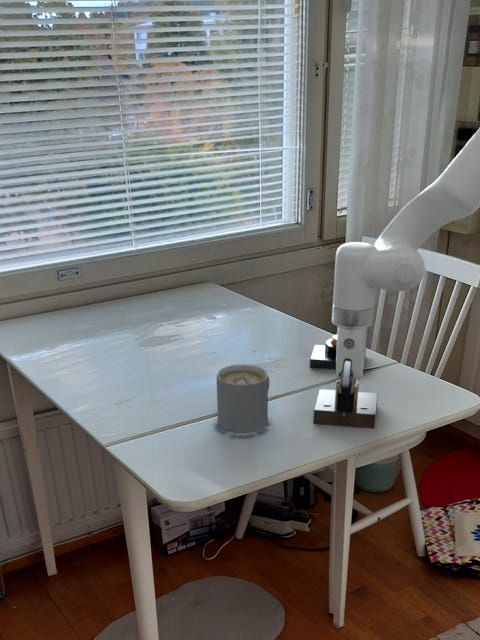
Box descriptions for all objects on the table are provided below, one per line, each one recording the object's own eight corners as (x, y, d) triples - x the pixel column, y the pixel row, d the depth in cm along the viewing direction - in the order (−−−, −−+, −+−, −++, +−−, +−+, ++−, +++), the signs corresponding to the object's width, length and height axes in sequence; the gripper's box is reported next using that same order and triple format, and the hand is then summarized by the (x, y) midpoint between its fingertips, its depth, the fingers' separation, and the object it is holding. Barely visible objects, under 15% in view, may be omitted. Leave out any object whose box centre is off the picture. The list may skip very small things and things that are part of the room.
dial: (357, 402, 156) (359, 377, 153) (356, 412, 152) (358, 387, 149) (335, 401, 157) (337, 376, 154) (333, 410, 153) (335, 385, 150)
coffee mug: (241, 437, 150) (241, 389, 145) (207, 420, 156) (205, 373, 151) (289, 416, 158) (291, 369, 152) (255, 401, 164) (255, 355, 158)
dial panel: (376, 406, 161) (378, 392, 159) (373, 432, 152) (375, 418, 150) (318, 402, 163) (319, 388, 161) (312, 427, 154) (312, 413, 152)
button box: (365, 355, 184) (366, 339, 182) (362, 371, 176) (364, 355, 174) (314, 352, 186) (315, 336, 184) (309, 368, 178) (310, 351, 176)
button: (348, 341, 181) (348, 334, 180) (346, 347, 178) (347, 340, 177) (332, 340, 182) (333, 333, 181) (331, 346, 179) (331, 339, 178)
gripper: (370, 331, 136) (362, 425, 147) (375, 300, 150) (367, 389, 160) (327, 329, 138) (322, 422, 148) (336, 298, 151) (330, 386, 162)
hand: (345, 404), depth 154 cm, fingers closed on dial, 4 cm apart
